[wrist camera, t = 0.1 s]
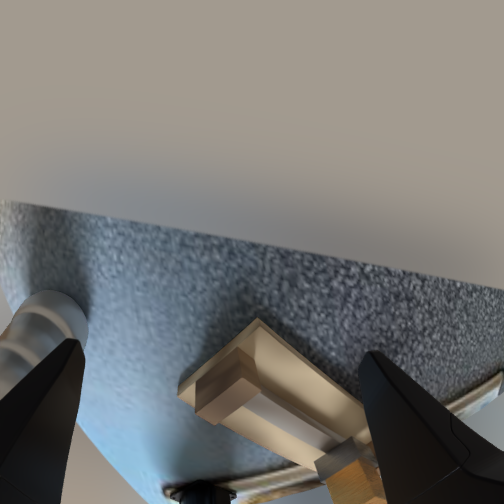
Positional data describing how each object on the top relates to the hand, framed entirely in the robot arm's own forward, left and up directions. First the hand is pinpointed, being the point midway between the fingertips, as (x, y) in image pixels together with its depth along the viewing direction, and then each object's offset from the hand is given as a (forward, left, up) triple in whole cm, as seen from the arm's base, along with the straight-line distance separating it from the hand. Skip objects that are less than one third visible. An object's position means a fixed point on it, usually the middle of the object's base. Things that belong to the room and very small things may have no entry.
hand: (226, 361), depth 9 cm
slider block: (-7, -25, -12) cm, 29 cm away
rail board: (-7, -19, -15) cm, 26 cm away
